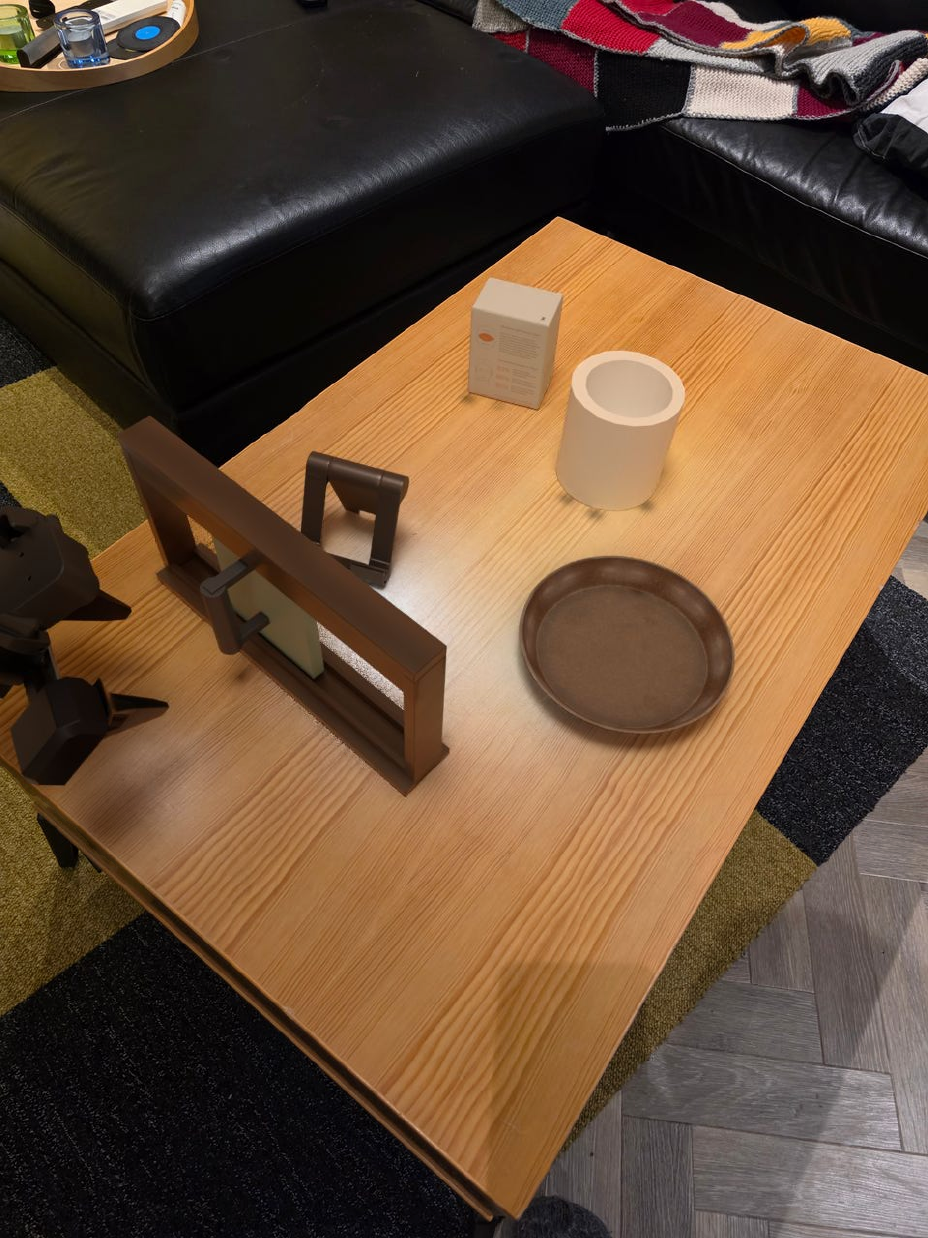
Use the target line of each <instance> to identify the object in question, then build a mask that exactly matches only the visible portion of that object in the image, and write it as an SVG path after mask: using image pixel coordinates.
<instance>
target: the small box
mask: <svg viewBox="0 0 928 1238" xmlns="http://www.w3.org/2000/svg"><path fill="white" fill-rule="evenodd" d="M563 302H564V294H563V293H560V292H555V291H551V290H547V289H542V288H539V287H538V288H537V287H534V286H530V285H525V284H521V283H517V282H512V281H508V280H504V279H500V278H495V277H491V276H490V277H488V279H487V281H486V282H485V284H484V285H483V287H482V289H481V291H480V292H479V294H478V296H477V297H476V299H475V301H474V303H473V304H472V306H471V309H470V313H471V314H470V328H469V329H470V330H469V331H470V332H469V348H468V350H469V351H468V370H467V371H468V373H467V392H468V393H471V394H476V395H479V396H483V397H487V398H491V399H495V400H499V401H503V402H506V403H511V404H514V405H517V406H522V407H527V408H530V409H533V410H538V409H540V406H541V404H542V402H543V399H544V397H545V395H546V392H547V390H548V388H549V385H550V383H551V381H552V379H553V373H554V367H555V360H556V353H557V346H558V339H559V338H558V337H559V331H560V321H561V317H562V310H563V304H564V303H563Z"/></svg>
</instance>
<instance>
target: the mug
mask: <svg viewBox="0 0 928 1238" xmlns="http://www.w3.org/2000/svg"><path fill="white" fill-rule="evenodd" d="M685 399H686V389H685V386H684V384H683V382H682V379H681V378H680V376H679V375H678V374H677V373H676V372H675V371H674V370H673V369H672V367H671V366H668V365H667V364H665V363H664V362H662V361H660V360H659V359H658V358H656V357H652V356H649V355H646V354H645V353H644V354H643V353H641V352H636V351H628V350H609V351H603V352H600V353H597V354H593V355H591V356H588V358H586V359H584V360H583V361H581V362H580V363H579V364H578V366H576V368H575V369H574V370H573V372H572V376H571V382H570V388H569V392H568V398H567V404H566V410H565V415H564V421H563V425H562V432H561V436H560V441H559V448H558V453H557V459H556V465H555V466H556V467H555V473H556V477H557V481H558V483H559V484H560V486H561V487H562V488H563V490H564V491H565V492H566V493H567V495H569V496H570V497H572V498H573V499H574V500H576V501H577V502H579V503H581V504H583V505H586V506H589V507H591V508H593V509H597V510H604V511H610V512H613V511H625V510H626V511H627V510H630V509H633V508H635V507H638V506H641V505H643V504H644V503H645V502H647V501H648V500H649V499H650V498H652V497H653V495H654V493H655V491H656V490H657V487H658V485H659V483H660V480H661V476H662V473H663V471H664V467H665V464H666V461H667V457H668V455H669V451H670V448H671V445H672V442H673V439H674V435H675V434H676V433H675V432H676V430H677V427H678V423H679V420H680V418H681V415H682V411H683V407H684V405H685V401H686V400H685Z"/></svg>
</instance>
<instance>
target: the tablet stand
mask: <svg viewBox="0 0 928 1238" xmlns="http://www.w3.org/2000/svg"><path fill="white" fill-rule="evenodd" d="M304 471H305V472H304V482H303V483H304V484H303V496H302V508H301V520H300V521H301V522H300V532H301V533H302V534H303V535H305V536H306V537H307V538H308V539H310V540H311V541H312V542H314V543H315V544H316V545H317V546H319V547H320V548H321V549H322V547H321V546H322V537H323V536H322V535H323V526H324V517H325V516H324V515H325V505H326V504H325V503H326V495H327V487H328V484H329V485H331V488H332V490H333V492H334V493H335V495H336V497H337V498H338V500H339V501H340V503H341V505H342V507H343V509H344V510H345V511H347V512H350V513H354V514H357V515H360V513H361V512H364V513H368V514H371V515H374V516H375V517H374V525H373V533H372V542H371V549H370V555H369V560H368V563H364V562H362V561H358V560H355V559H351V558H347V557H344V556H341V555H336V554H333V553H331V552H327V553H328V554H329V555H330V556H332V557H333V558H334V559H336V560H337V561H338V562H339V563H341V564H342V565H343V566H345V567H346V568H347V569H348V570H350V571H351V572H352V573H354V574H355V575H356V576H357V577H359V578H360V579H361V580H363V581H364V582H368V583H371V584H374V585H379V586H380V587H381V586H382V587H385V586H386V585H387V583H388V581H389V578H390V574H391V570H392V569H391V568H392V563H393V562H392V561H393V554H394V550H395V549H394V547H395V542H396V535H397V527H398V520H399V514H400V507H401V505H402V503H403V501H404V499H405V498H406V496H407V493H408V489H409V485H410V478H409V476H408V475H404V474H400V473H397V472H393V471H390V470H386V469H383V468H378V467H375V466H371V465H367V464H364V463H360V462H357V461H353V460H349V459H345V458H341V457H338V456H334V455H330V454H327V453H323V452H320V451H316V450H312V451H311V452H310V453H309V454H308V457H307V459H306V462H305V470H304Z"/></svg>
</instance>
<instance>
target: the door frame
mask: <svg viewBox="0 0 928 1238" xmlns="http://www.w3.org/2000/svg"><path fill="white" fill-rule="evenodd" d="M116 438H117V441H118V444H119V446H120V449H121V451H122V453H123V454H122V455H123V457H124V460H125V462H126V466H127V468H128V470H129V473H130V476H131V479H132V481H133V484H134V487H135V490H136V492H137V496H138V497H139V501H140V503H141V506H142V508H143V512H144V515H145V516H146V519H147V522H148V525H149V528H150V531H151V533H152V535H153V536H152V537H153V538H154V541H155V544H156V547H157V549H158V551H159V555H160V557H161V560H162V562H163V566H164V567H163V568H161V569H160V570H158V571H157V572H156V573H155V576H156V578H157V580H158V581H159V582H160V583H161V584H162V585H163V586H165V587H166V588H167V589H169V591H171V593H173V594H174V595H175V597H177V598H178V599H179V600H181V601H182V602H183V603H184V605H186V606H188V607H189V609H191V610H192V611H193V612H194V613H195V614H197V615H198V616H199V617H200V618H201V619H202V620H203V621H204V622H205V623H206V624H208V625H209V626H210V627H212V625H211V622H210V619H209V616H208V613H207V610H206V607H205V604H204V601H203V598H202V595H201V592H200V586H201V584H202V582H203V581H204V580H206V579H208V578H211V577H215V576H216V575H218V574H219V573H221V568H220V565H219V561H218V558H217V554H216V552H215V551H213V550H212V549H210V547H208V546H207V545H205V544H204V543H203V542H199V543H198V544H197V543H196V539H195V537H194V533H193V530H192V526H191V523H190V520H189V518H190V519H192V520H193V521H194V522H196V524H197V525H198V526H200V528H203V529H204V530H205V531H206V532H207V533H208V534H210V536H211V535H212V536H214V537H215V538H216V539H217V540H218V541H220V542H221V543H222V544H223V545H225V546H226V547H227V548H228V549H229V550H231V551H232V552H233V553H234V554H235V555H237V556H238V557H239V558H240V559H242V560H243V561H244V562H245V563H246V564H248V565H249V566H250V567H251V568H253V569H254V570H255V571H256V572H257V573H259V574H260V575H261V576H262V577H264V578H265V579H266V580H267V581H268V582H270V583H271V584H272V585H273V586H274V587H276V588H277V589H278V590H279V591H281V592H282V593H283V594H284V595H285V596H287V597H288V598H289V599H290V600H292V601H293V602H294V603H295V604H296V605H298V606H299V607H300V608H301V609H302V610H304V611H305V612H306V613H307V614H309V615H310V616H311V617H312V618H313V619H315V620H316V621H317V624H319V625H320V626H322V627H323V628H324V629H325V630H327V632H329V633H330V634H331V635H333V637H335V638H336V639H338V640H339V641H340V642H341V643H342V644H344V645H345V646H346V647H347V648H349V649H350V650H351V651H352V652H353V653H354V654H356V655H357V656H358V657H359V658H361V659H362V660H363V661H364V662H366V663H367V664H368V665H369V666H371V667H372V668H373V669H374V670H375V671H376V672H378V673H379V674H380V675H382V676H383V677H384V678H385V679H386V680H388V681H389V682H390V683H391V684H392V685H394V686H395V687H396V688H397V689H398V690H400V691H401V692H402V693H403V708H402V707H401V706H399V705H398V704H397V703H396V702H395V701H393V700H392V699H391V698H390V697H388V695H386V694H385V693H384V692H383V691H381V689H379V688H378V687H376V685H374V684H373V683H372V682H371V681H370V680H368V679H367V678H366V677H365V676H363V674H361V673H360V672H359V671H357V670H356V669H355V668H353V666H352V665H350V664H349V663H348V662H347V661H345V660H344V659H343V658H342V657H341V656H339V655H338V654H337V653H336V652H335V651H334V650H333V649H331V648H330V647H329V646H327V645H326V644H325V643H324V642H322V641H321V640H320V645H321V652H322V658H323V664H324V671H323V672H322V673H321V674H319V675H318V676H317V677H316V678H315V679H313V678H311V677H310V676H309V675H308V674H307V673H306V672H304V671H303V670H302V669H301V668H300V667H299V666H297V665H296V664H295V663H294V662H293V661H292V660H290V659H289V658H288V657H287V656H286V655H285V654H283V653H282V652H281V651H280V650H279V649H278V648H276V647H275V646H274V645H273V644H272V643H271V642H269V641H268V640H267V639H266V638H265V637H264V636H262V635H261V634H260V633H259V632H258V633H257V634H256V635H254V636H253V637H252V638H251V639H249V640H248V641H247V642H245V643H244V644H243V646H242V648H241V650H240V651H239V653H241V654H242V655H243V656H245V658H246V659H248V660H249V661H250V662H251V663H252V664H253V665H255V667H256V668H258V669H259V670H260V671H262V673H264V674H265V675H266V676H267V677H268V678H269V679H271V681H273V682H274V683H275V684H276V685H277V686H278V687H279V688H281V689H282V691H284V692H285V693H287V694H288V695H289V696H290V697H291V698H292V699H293V700H295V702H297V703H298V704H299V705H300V706H301V707H302V708H303V709H304V710H306V711H307V712H308V713H309V714H310V715H312V716H313V717H314V718H315V719H316V720H317V721H318V722H319V723H321V724H322V725H323V726H324V727H325V728H326V729H327V730H328V731H329V732H331V733H332V734H333V735H334V736H335V737H336V738H337V739H338V740H340V741H341V742H342V743H343V744H345V745H346V747H348V748H349V749H350V750H351V751H352V752H354V753H355V754H356V755H357V757H359V758H361V760H362V761H364V762H365V763H366V764H367V765H369V767H370V768H372V769H373V770H374V771H375V772H376V773H377V774H379V775H380V776H381V777H382V778H383V779H384V780H385V781H387V782H388V783H389V784H390V785H391V786H392V787H393V788H395V789H396V790H397V792H399V793H400V794H401V795H402V796H404V797H407V795H408V794H410V792H411V791H413V790H414V789H415V788H416V787H417V786H418V785H419V784H420V783H421V782H422V781H423V780H424V779H425V778H426V777H427V776H428V775H429V774H430V773H431V772H432V771H433V770H434V769H435V768H436V767H437V766H438V765H439V764H440V763H442V761H443V760H444V759H445V758H446V757H447V756H448V755H449V754H450V751H451V749H450V747H449V746H448V745H446V743H444V742H443V724H444V710H445V709H444V707H445V692H446V691H445V688H446V671H447V651H448V649H447V648H448V646H447V644H445V643H444V642H442V640H440V639H439V638H437V637H436V636H435V635H434V634H432V633H431V632H430V631H428V630H427V629H426V628H425V627H423V626H422V625H421V624H420V623H419V622H417V621H415V619H413V618H412V617H410V616H409V615H408V614H407V613H405V612H404V611H403V610H402V609H400V608H399V607H398V606H396V605H395V604H394V603H392V602H391V601H389V600H388V598H386V597H385V596H384V595H382V594H381V593H379V592H378V591H377V590H376V589H374V588H373V587H371V586H370V585H369V584H368V583H366V581H364V580H361V579H360V578H359V577H357V576H356V575H355V574H354V573H352V572H351V571H350V570H348V569H347V568H346V567H345V566H343V565H342V564H341V563H339V562H338V561H337V560H336V559H334V558H333V557H332V556H330V555H329V554H328V553H329V552H327V551H325V550H324V549H323V548H322V547H321V548H320V547H319V546H317V545H316V544H315V543H314V542H312V541H311V540H310V539H308V538H307V537H306V536H305V535H303V534H302V533H301V531H300V530H298V529H297V528H296V527H295V526H293V525H292V524H290V523H289V522H288V521H287V520H285V519H284V518H283V517H281V515H279V514H278V513H276V512H275V511H274V510H273V509H271V508H270V507H269V506H267V505H266V504H264V503H263V502H262V501H261V500H259V499H258V498H257V497H255V495H253V494H252V493H250V492H249V491H248V490H247V489H246V488H244V487H243V486H242V485H240V484H239V483H237V481H235V480H234V479H233V478H231V477H230V476H228V475H227V474H226V472H225V473H224V472H223V471H222V470H221V469H219V468H218V467H217V466H216V465H214V464H213V463H212V462H210V461H209V460H208V459H207V458H205V457H204V456H202V454H200V453H199V452H198V451H197V450H195V449H194V448H193V447H191V446H190V445H189V444H188V443H186V442H185V441H183V440H182V439H181V438H180V437H178V436H177V435H176V434H174V433H173V432H172V431H171V430H169V429H168V428H167V427H166V426H164V425H163V424H161V423H160V422H159V421H158V420H157V419H156V418H154V417H152V416H151V415H148V416H146V417H145V418H143V419H141V420H140V421H138V422H136V423H134V424H133V425H131V426H130V427H128V428H126V429H124V430H123V431H121V432H119V433H118V434H116ZM234 614H235V618H236V621H237V625H238V628H239V627H240V626H242V625H243V624H244V623H246V621H245V620H244V619H243V618H241V617H240V616H239V615H238V614H237V613H236V612H234Z"/></svg>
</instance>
